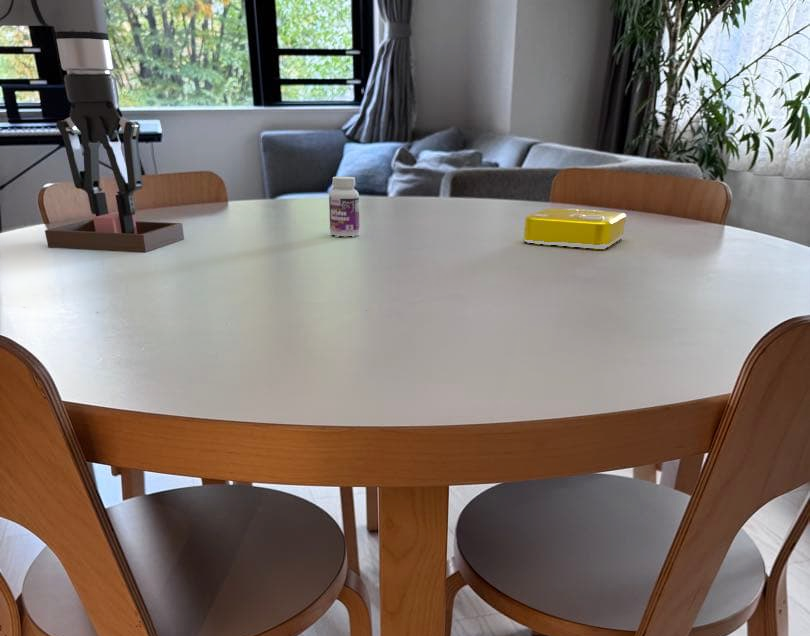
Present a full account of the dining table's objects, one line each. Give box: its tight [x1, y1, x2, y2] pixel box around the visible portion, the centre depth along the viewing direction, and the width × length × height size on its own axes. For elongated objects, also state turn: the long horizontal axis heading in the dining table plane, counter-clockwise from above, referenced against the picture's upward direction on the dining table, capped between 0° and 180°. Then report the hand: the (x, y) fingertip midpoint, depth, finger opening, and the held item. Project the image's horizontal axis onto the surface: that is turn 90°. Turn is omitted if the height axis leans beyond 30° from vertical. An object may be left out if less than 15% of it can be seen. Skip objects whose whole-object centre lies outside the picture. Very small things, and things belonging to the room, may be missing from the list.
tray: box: [44, 218, 185, 253], centre depth 128 cm, size 18×14×3 cm
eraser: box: [92, 211, 137, 234], centre depth 127 cm, size 7×4×4 cm, turn 168°
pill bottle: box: [328, 175, 360, 238], centre depth 135 cm, size 5×5×10 cm
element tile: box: [523, 207, 627, 251], centre depth 133 cm, size 15×15×5 cm
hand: (117, 235), depth 128 cm, fingers closed on eraser, 4 cm apart
